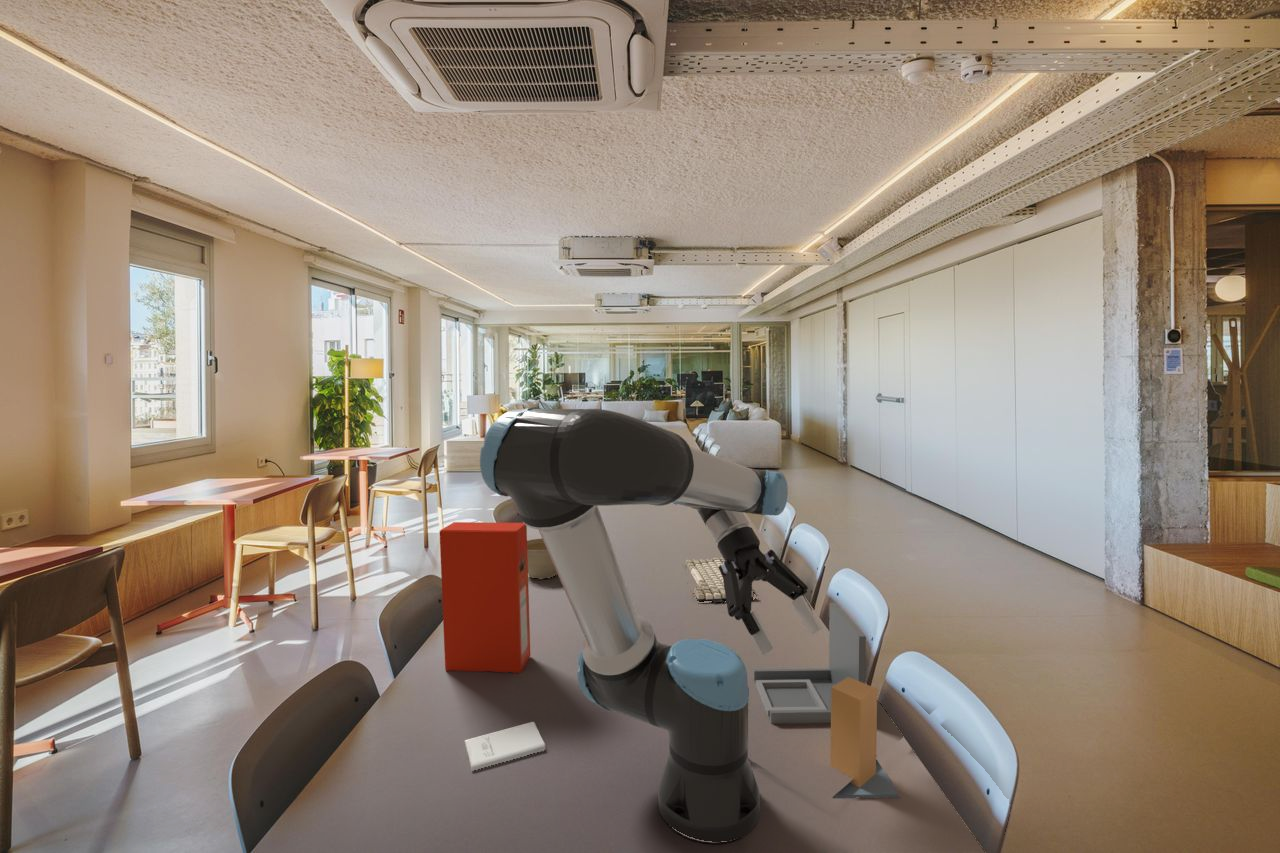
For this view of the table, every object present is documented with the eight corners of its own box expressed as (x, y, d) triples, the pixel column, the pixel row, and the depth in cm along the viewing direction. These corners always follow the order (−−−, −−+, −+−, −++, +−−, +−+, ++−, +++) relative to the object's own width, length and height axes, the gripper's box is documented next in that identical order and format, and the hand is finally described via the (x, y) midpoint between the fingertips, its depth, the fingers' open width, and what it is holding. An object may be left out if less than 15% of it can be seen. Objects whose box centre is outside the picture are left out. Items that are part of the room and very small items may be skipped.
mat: (833, 798, 86) (833, 795, 86) (813, 755, 96) (813, 753, 96) (898, 797, 86) (898, 794, 86) (872, 755, 96) (872, 752, 96)
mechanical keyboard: (675, 566, 202) (675, 557, 201) (728, 564, 204) (728, 555, 203) (697, 607, 164) (697, 596, 164) (761, 604, 166) (761, 593, 166)
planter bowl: (577, 574, 192) (576, 543, 192) (538, 587, 181) (537, 553, 180) (547, 565, 204) (547, 535, 203) (509, 576, 192) (508, 544, 191)
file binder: (520, 674, 125) (516, 531, 123) (444, 671, 127) (439, 530, 125) (530, 656, 134) (526, 522, 131) (459, 654, 135) (454, 521, 133)
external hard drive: (545, 753, 99) (471, 775, 94) (533, 728, 106) (464, 747, 101) (545, 744, 99) (471, 765, 93) (533, 720, 106) (464, 738, 101)
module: (859, 787, 88) (860, 700, 87) (830, 771, 92) (831, 687, 91) (875, 773, 91) (877, 688, 90) (847, 758, 95) (848, 676, 94)
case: (771, 731, 103) (771, 637, 102) (753, 685, 119) (753, 604, 118) (869, 730, 103) (870, 636, 102) (838, 684, 119) (839, 602, 118)
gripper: (762, 537, 119) (819, 633, 108) (675, 554, 103) (733, 669, 92) (785, 517, 114) (847, 616, 104) (698, 532, 98) (761, 650, 88)
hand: (794, 641), depth 98 cm, fingers open, 13 cm apart
